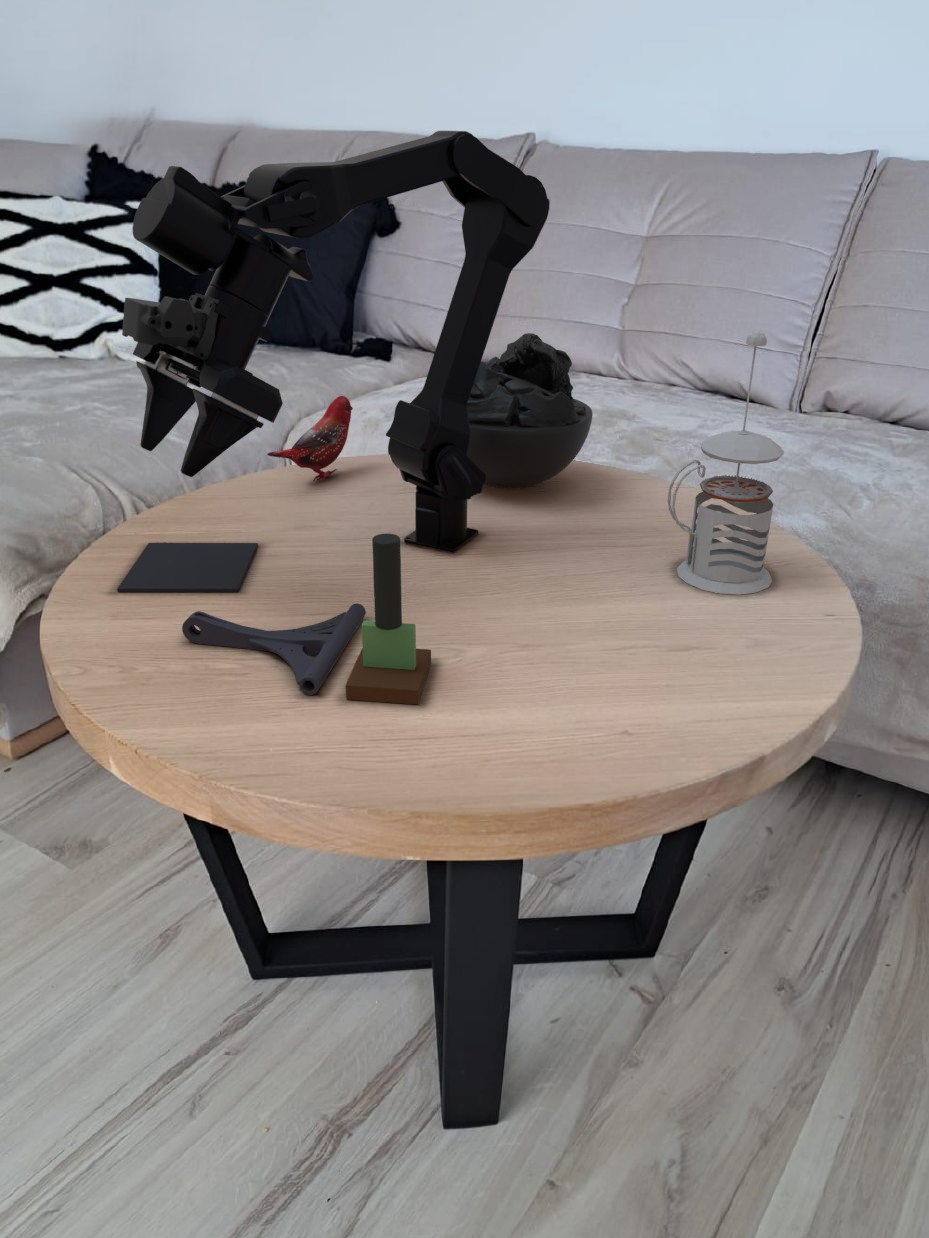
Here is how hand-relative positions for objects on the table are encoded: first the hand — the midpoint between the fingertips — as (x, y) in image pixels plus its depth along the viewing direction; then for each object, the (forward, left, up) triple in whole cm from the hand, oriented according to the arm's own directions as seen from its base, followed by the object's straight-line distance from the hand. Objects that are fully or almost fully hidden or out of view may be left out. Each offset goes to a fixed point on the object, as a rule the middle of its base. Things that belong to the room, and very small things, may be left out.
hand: (165, 461), depth 89 cm
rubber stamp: (+2, +24, -15) cm, 29 cm away
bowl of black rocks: (-49, +12, -15) cm, 52 cm away
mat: (-8, -6, -15) cm, 18 cm away
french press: (-33, +43, -15) cm, 56 cm away
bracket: (+2, +11, -15) cm, 19 cm away
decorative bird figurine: (-37, -10, -15) cm, 41 cm away
